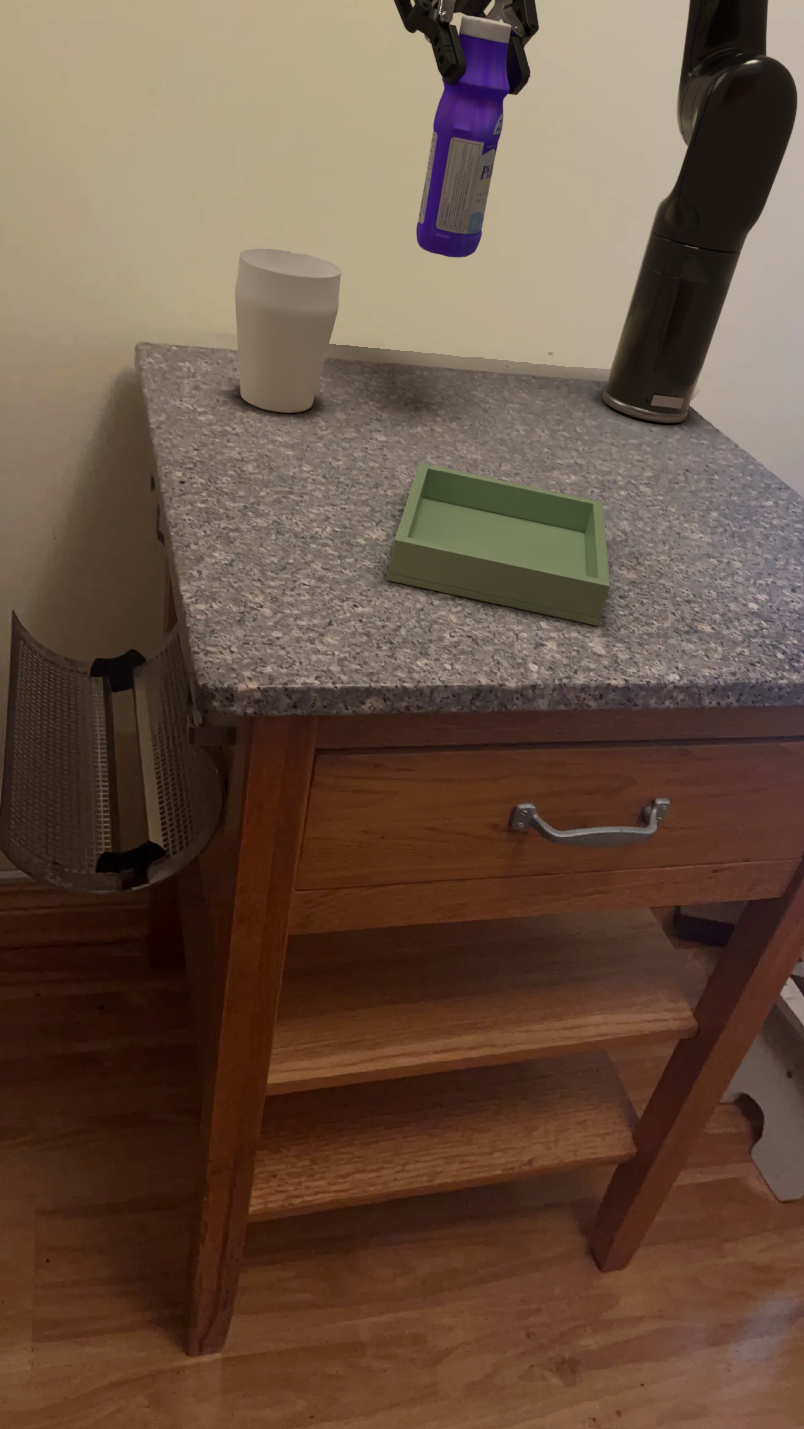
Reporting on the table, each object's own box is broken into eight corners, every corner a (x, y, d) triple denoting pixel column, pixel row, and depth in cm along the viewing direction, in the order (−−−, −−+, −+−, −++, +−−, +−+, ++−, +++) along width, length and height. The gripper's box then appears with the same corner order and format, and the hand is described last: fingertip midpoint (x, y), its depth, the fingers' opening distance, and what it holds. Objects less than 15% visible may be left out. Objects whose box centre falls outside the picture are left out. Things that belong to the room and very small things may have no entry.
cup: (344, 406, 97) (363, 272, 90) (285, 426, 90) (301, 283, 83) (268, 376, 100) (281, 245, 93) (206, 393, 93) (215, 253, 87)
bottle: (470, 264, 89) (517, 26, 79) (406, 250, 90) (445, 11, 80) (482, 250, 95) (527, 27, 85) (422, 237, 96) (460, 12, 86)
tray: (412, 498, 82) (419, 462, 80) (592, 537, 82) (603, 501, 80) (386, 580, 70) (394, 539, 68) (597, 626, 70) (610, 586, 68)
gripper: (383, -173, 78) (440, 37, 77) (530, -130, 85) (584, 62, 84) (339, -90, 84) (392, 105, 83) (480, -56, 91) (529, 123, 91)
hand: (488, 82), depth 84 cm, fingers closed on bottle, 5 cm apart
